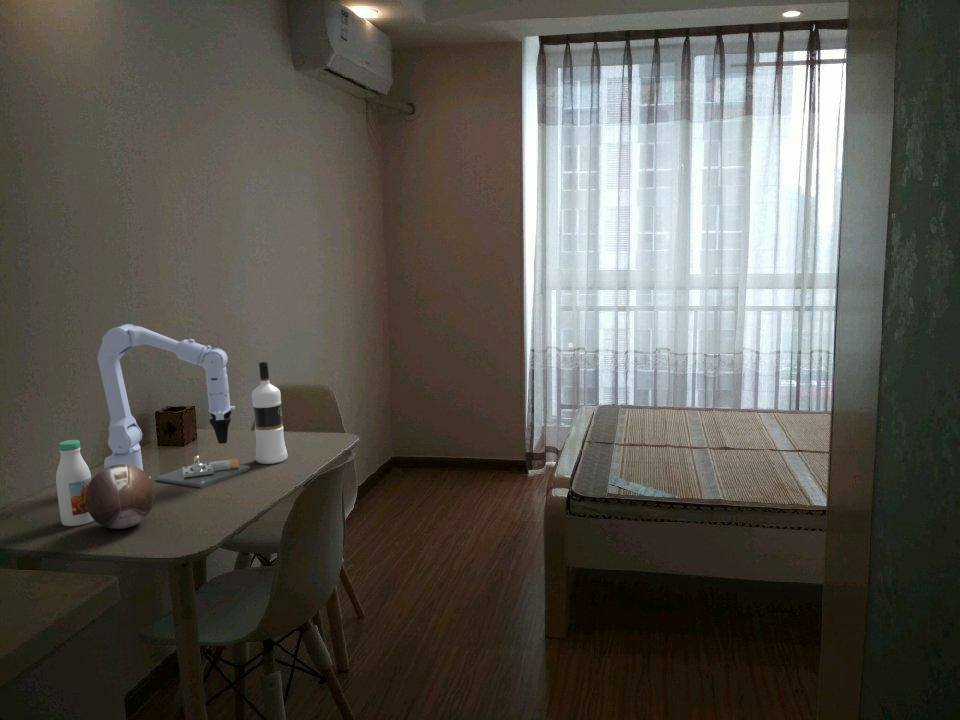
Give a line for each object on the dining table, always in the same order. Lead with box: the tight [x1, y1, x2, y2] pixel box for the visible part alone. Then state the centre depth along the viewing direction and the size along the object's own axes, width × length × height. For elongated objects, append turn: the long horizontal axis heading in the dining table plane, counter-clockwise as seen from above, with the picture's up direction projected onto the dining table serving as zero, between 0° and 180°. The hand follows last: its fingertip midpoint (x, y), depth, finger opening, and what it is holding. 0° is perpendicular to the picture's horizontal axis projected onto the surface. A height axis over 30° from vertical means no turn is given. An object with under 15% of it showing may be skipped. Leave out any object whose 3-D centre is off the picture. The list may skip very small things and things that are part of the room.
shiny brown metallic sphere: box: [85, 464, 156, 530], centre depth 192 cm, size 15×15×15 cm
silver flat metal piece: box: [182, 457, 240, 478], centre depth 233 cm, size 15×8×2 cm, turn 111°
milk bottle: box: [55, 439, 95, 527], centre depth 197 cm, size 8×8×20 cm
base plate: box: [155, 455, 251, 489], centre depth 233 cm, size 18×18×4 cm
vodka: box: [251, 361, 289, 465], centre depth 242 cm, size 9×9×30 cm
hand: (223, 439), depth 229 cm, fingers open, 7 cm apart
